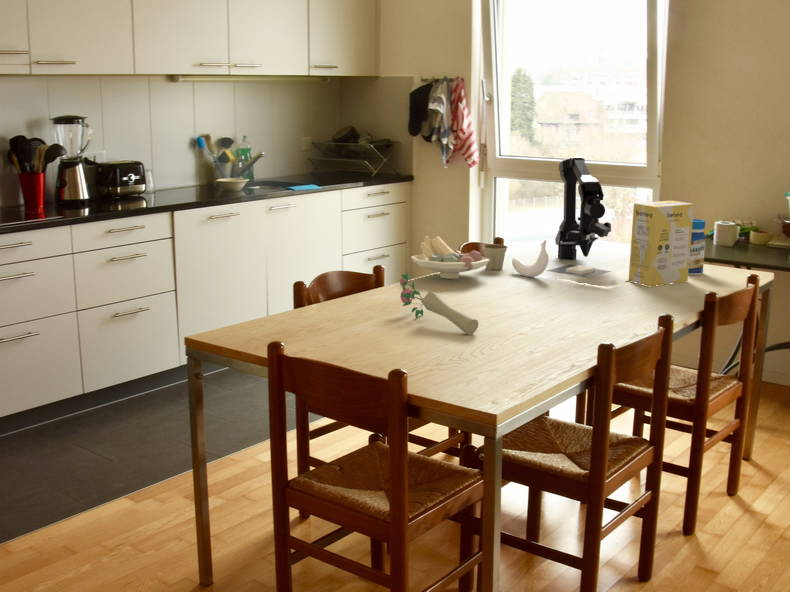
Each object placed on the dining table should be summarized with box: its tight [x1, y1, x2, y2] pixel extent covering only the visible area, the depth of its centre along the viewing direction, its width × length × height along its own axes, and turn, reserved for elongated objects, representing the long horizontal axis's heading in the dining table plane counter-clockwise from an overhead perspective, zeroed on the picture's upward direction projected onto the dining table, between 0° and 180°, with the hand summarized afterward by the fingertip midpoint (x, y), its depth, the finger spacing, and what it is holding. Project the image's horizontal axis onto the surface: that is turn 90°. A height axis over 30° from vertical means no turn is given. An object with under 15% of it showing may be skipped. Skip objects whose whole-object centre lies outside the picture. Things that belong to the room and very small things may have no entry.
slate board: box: [545, 264, 611, 279], centre depth 328 cm, size 18×16×1 cm
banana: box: [511, 239, 550, 278], centre depth 320 cm, size 5×19×15 cm, turn 36°
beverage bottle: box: [688, 218, 707, 276], centre depth 326 cm, size 8×8×20 cm
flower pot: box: [482, 243, 508, 271], centre depth 334 cm, size 9×9×9 cm
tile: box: [566, 264, 596, 275], centre depth 327 cm, size 7×1×9 cm
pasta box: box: [628, 200, 695, 287], centre depth 311 cm, size 18×10×28 cm, turn 119°
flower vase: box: [399, 270, 479, 336], centre depth 259 cm, size 12×12×35 cm
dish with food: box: [410, 235, 489, 280], centre depth 318 cm, size 28×28×14 cm
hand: (585, 256), depth 328 cm, fingers closed
